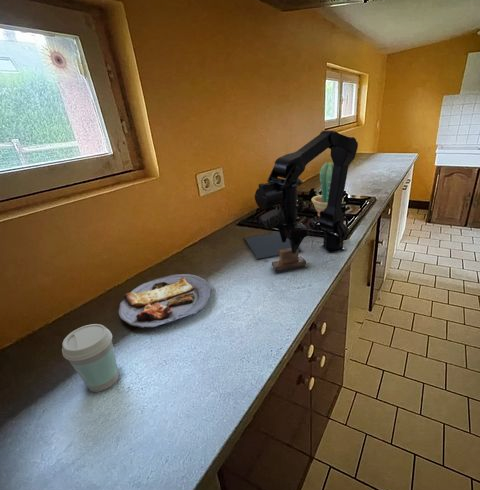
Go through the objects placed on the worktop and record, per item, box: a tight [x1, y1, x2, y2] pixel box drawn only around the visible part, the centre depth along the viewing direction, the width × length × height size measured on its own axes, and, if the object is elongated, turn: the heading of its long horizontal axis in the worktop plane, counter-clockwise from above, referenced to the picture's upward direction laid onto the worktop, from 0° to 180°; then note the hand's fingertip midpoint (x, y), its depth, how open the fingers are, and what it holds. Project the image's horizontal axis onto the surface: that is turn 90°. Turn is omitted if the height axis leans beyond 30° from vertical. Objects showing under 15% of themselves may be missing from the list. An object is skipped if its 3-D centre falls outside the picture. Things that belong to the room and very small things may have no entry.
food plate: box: [117, 273, 211, 329], centre depth 86 cm, size 25×23×4 cm
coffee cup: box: [61, 323, 120, 393], centre depth 60 cm, size 8×8×12 cm
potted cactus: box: [311, 161, 345, 218], centre depth 142 cm, size 15×15×25 cm
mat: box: [244, 232, 302, 261], centre depth 119 cm, size 17×20×1 cm
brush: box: [271, 248, 307, 275], centre depth 101 cm, size 11×4×7 cm, turn 108°
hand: (288, 247), depth 99 cm, fingers open, 9 cm apart
